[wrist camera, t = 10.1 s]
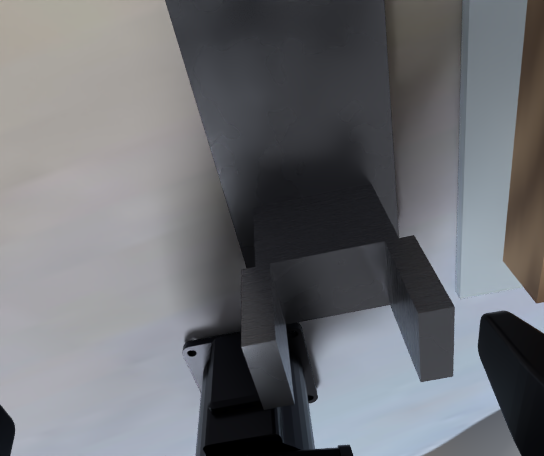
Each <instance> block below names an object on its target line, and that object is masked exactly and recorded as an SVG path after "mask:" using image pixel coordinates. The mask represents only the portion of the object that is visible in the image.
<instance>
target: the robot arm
mask: <svg viewBox="0 0 544 456" xmlns="http://www.w3.org/2000/svg"><path fill="white" fill-rule="evenodd" d="M286 331H287V340H288V349H289V358H290V367H291V376H292V385H293V394H294V403H295V405H289V406H284V407H278V408H272V409H267V410H264V409H263V406H262V403H261V401H260V398H259V395H258V392H257V389H256V387H255V384H254V381H253V378H252V375H251V373H250V370H249V367H248V364H247V361H246V359H245V356H244V353H243V350H242V347H241V332H237V333H231V334H226V335H221V336H216V337H210V338H205V339H200V340H194V341H190V342H187V343H185V344H184V346H183V356H184V358H185V361H186V363H187V365H188V367H189V369H190V371H191V373H192V375H193V378H194V380H195V382H196V384H197V386H198V388H199V390H200V392H201V400H200V412H199V423H198V434H197V446H196V456H353V453H352V450H351V447H350V445H338V448H325V449H315V446H314V439H313V432H312V425H311V418H310V411H309V404H308V403H313V402H315V401H316V400H317V399H318V395H317V389H316V385H315V381H314V377H313V373H312V369H311V365H310V361H309V356H308V352H307V348H306V344H305V340H304V336H303V332H302V327H301V325H300V324H298V323H291V324H286ZM291 331H295V332H291ZM191 350H194V351H191ZM478 352H479V356H480V359H481V362H482V364H483V366H484V369H485V371H486V374H487V376H488V379H489V381H490V384H491V386H492V389H493V391H494V394H495V396H496V398H497V401H498V403H499V406H500V408H501V411H502V413H503V416H504V418H505V421H506V423H507V425H508V428H509V430H510V433H511V435H512V437H513V439H514V442H515V444H516V446H517V448H518V450H519V451H520V454H521V456H544V333H542V332H541V331H539V330H537V329H536V328H534V327H533V326H531V325H529V324H528V323H526V322H525V321H523V320H521V319H520V318H518V317H517V316H515V315H514V314H512V313H510V312H508V311H498V312H492V313H486V314H484V315H483V316H482V317H481V320H480V329H479V339H478ZM14 436H15V425H14V422H13V420H12V418H11V417H10V416H9V415H8V413H7V412H6V411H5V410H4V409H3V407H2V406H1V405H0V456H10V454H11V450H12V445H13V440H14Z"/></svg>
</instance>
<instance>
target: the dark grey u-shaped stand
mask: <svg viewBox="0 0 544 456" xmlns="http://www.w3.org/2000/svg"><path fill="white" fill-rule="evenodd" d="M165 2H166V5H167V8H168V11H169V15H170V18H171V21H172V25H173V28H174V31H175V34H176V38H177V41H178V44H179V48H180V51H181V54H182V57H183V61H184V64H185V67H186V70H187V74H188V77H189V80H190V84H191V87H192V90H193V93H194V97H195V100H196V103H197V107H198V110H199V113H200V116H201V120H202V123H203V126H204V129H205V133H206V136H207V139H208V143H209V146H210V149H211V152H212V156H213V159H214V162H215V166H216V169H217V172H218V175H219V179H220V182H221V185H222V188H223V192H224V195H225V198H226V202H227V205H228V208H229V211H230V215H231V218H232V221H233V225H234V228H235V231H236V234H237V238H238V241H239V244H240V247H241V251H242V254H243V257H244V261H245V264H246V267H247V269H242V270H241V347H242V350H243V353H244V356H245V359H246V361H247V364H248V367H249V370H250V373H251V375H252V378H253V381H254V384H255V387H256V389H257V392H258V395H259V398H260V401H261V403H262V406H263V409H264V410H267V409H272V408H278V407H284V406H289V405H295V403H294V394H293V385H292V376H291V367H290V358H289V349H288V340H287V331H286V324H291V323H297V322H302V321H307V320H312V319H318V318H323V317H328V316H333V315H339V314H344V313H349V312H355V311H360V310H365V309H370V308H376V307H381V306H386V305H390V306H391V308H392V311H393V314H394V316H395V319H396V321H397V324H398V326H399V329H400V331H401V334H402V336H403V339H404V341H405V344H406V346H407V349H408V351H409V354H410V356H411V359H412V361H413V364H414V366H415V369H416V371H417V374H418V376H419V379H420V382H424V381H430V380H436V379H441V378H447V377H452V376H453V355H454V312H455V307H454V305H453V303H452V301H451V300H450V298H449V296H448V294H447V293H446V291H445V289H444V287H443V285H442V284H441V282H440V280H439V278H438V277H437V275H436V273H435V271H434V270H433V268H432V266H431V264H430V263H429V261H428V259H427V257H426V255H425V254H424V252H423V250H422V248H421V247H420V245H419V243H418V241H417V240H416V238H415V236H414V235H413V236H408V237H403V238H399V230H398V214H397V198H396V182H395V166H394V150H393V134H392V118H391V102H390V86H389V70H388V54H387V38H386V22H385V6H384V0H165Z"/></svg>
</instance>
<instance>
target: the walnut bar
mask: <svg viewBox="0 0 544 456" xmlns="http://www.w3.org/2000/svg"><path fill="white" fill-rule="evenodd" d="M503 262H504V263H505V264H506V266H507V267H508V268H509V269H510V271H511V272H512V273H513V275H514V276H515V277H516V278H517V280H518V281H519V282H520V283H521V285H522V286H523V287H524V288H525V290H526V291H527V292H528V293H529V295H530V296H531V297H532V299H533V300H534V301H535V302H536V303H541V302H544V0H527V10H526V21H525V31H524V42H523V52H522V63H521V73H520V84H519V94H518V105H517V115H516V126H515V136H514V147H513V157H512V168H511V178H510V189H509V200H508V210H507V221H506V231H505V242H504V252H503Z"/></svg>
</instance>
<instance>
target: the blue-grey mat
mask: <svg viewBox="0 0 544 456" xmlns="http://www.w3.org/2000/svg"><path fill="white" fill-rule="evenodd" d="M526 10H527V0H463V2H462V43H461V85H460V126H459V167H458V208H457V250H456V291H455V292H456V293H457V295H458V297H459V298H460V299H465V298H470V297H475V296H481V295H486V294H491V293H497V292H502V291H507V290H512V289H518V288H523V286H522V285H521V283H520V282H519V281H518V280H517V278H516V277H515V276H514V275H513V273H512V272H511V271H510V269H509V268H508V267H507V266H506V264H505V263H504V262H503V252H504V242H505V231H506V221H507V210H508V200H509V189H510V178H511V168H512V157H513V147H514V136H515V126H516V115H517V105H518V94H519V84H520V73H521V63H522V52H523V42H524V31H525V21H526Z"/></svg>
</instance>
